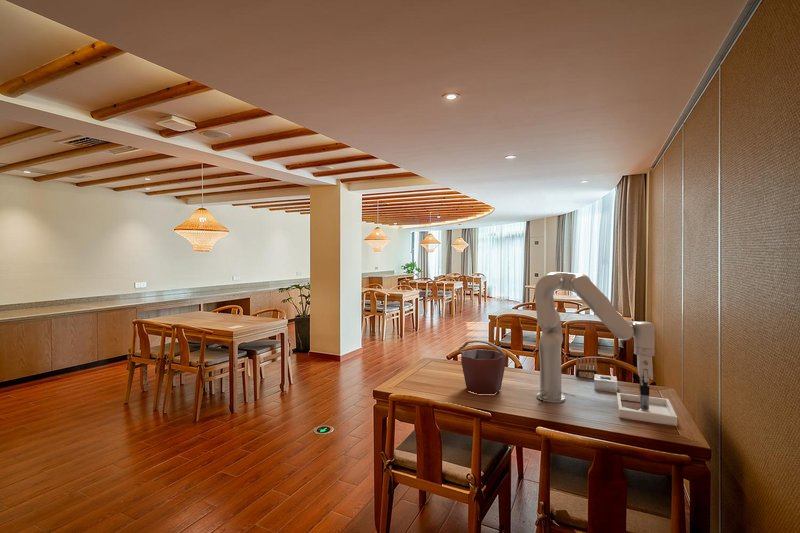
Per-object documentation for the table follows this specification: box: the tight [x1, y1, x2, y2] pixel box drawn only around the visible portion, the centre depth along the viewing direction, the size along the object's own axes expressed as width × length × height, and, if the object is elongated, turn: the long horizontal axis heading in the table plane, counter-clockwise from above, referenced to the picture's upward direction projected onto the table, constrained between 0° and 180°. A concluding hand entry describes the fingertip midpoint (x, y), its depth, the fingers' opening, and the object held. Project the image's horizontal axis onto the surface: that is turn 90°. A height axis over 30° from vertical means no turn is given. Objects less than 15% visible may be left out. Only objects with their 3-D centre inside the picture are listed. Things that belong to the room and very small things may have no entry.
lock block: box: [593, 373, 618, 394], centre depth 197 cm, size 10×10×6 cm
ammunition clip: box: [575, 356, 598, 379], centre depth 216 cm, size 11×2×12 cm, turn 67°
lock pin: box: [639, 379, 650, 410], centre depth 169 cm, size 3×3×12 cm
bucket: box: [458, 340, 507, 394], centre depth 201 cm, size 24×22×25 cm
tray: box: [616, 392, 678, 427], centre depth 169 cm, size 22×20×4 cm
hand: (644, 392), depth 169 cm, fingers closed on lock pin, 3 cm apart
